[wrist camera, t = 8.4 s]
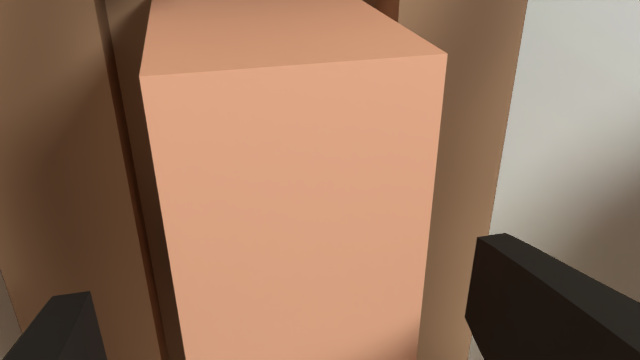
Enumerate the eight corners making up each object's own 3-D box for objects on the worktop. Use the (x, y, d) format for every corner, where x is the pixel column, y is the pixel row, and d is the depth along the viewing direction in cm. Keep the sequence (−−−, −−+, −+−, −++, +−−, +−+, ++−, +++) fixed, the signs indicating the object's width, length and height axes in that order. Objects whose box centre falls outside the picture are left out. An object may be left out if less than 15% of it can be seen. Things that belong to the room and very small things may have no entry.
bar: (333, 319, 17) (401, 504, 12) (203, 341, 17) (217, 549, 11) (335, -17, 13) (447, 53, 8) (153, -9, 12) (139, 76, 7)
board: (511, -225, 12) (701, -285, 8) (433, 375, 20) (502, 506, 16) (-122, -249, 10) (-359, -357, 5) (87, 442, 18) (61, 617, 14)
